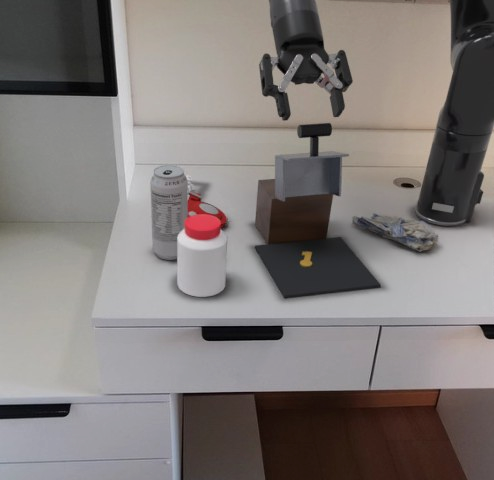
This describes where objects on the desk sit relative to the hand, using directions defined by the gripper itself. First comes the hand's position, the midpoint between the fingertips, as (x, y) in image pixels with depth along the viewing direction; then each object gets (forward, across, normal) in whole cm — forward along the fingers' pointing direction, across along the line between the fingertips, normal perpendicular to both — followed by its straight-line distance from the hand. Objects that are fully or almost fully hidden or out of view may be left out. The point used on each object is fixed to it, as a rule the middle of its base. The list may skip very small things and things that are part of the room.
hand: (312, 116), depth 96 cm
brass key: (+20, -1, +11) cm, 23 cm away
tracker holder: (+7, -15, +25) cm, 30 cm away
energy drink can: (+15, -23, +17) cm, 32 cm away
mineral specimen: (+17, +18, +16) cm, 29 cm away
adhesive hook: (-1, -16, +33) cm, 37 cm away
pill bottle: (+23, -20, +9) cm, 32 cm away
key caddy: (+4, 0, +7) cm, 8 cm away
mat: (+22, 0, +10) cm, 24 cm away
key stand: (+13, 0, +19) cm, 23 cm away
